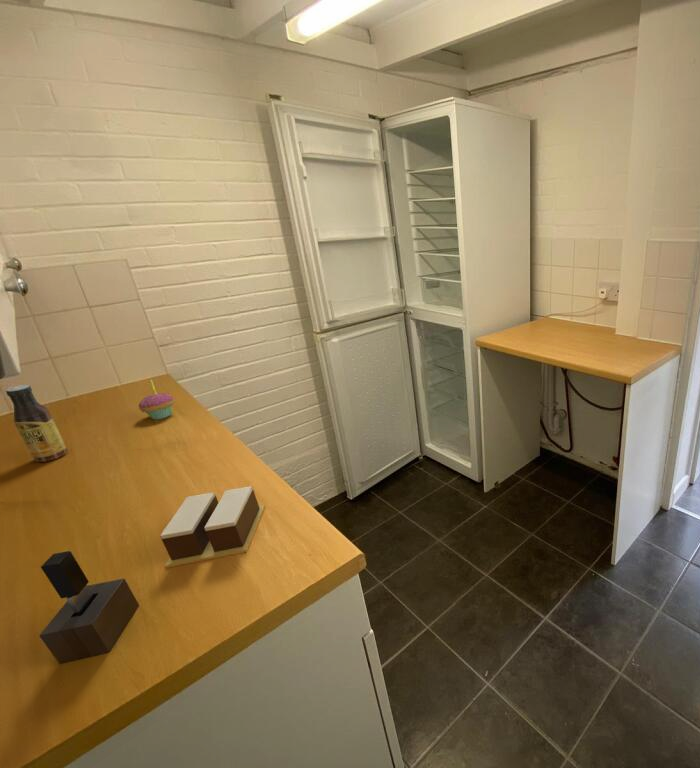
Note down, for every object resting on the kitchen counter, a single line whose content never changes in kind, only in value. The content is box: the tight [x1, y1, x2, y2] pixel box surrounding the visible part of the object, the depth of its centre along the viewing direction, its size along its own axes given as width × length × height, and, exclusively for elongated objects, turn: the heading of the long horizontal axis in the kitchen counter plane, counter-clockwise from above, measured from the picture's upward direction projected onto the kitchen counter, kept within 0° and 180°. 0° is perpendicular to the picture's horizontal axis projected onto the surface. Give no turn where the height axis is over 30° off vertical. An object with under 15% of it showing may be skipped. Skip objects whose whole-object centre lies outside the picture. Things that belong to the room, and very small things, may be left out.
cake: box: [160, 485, 266, 569], centre depth 80 cm, size 13×13×6 cm
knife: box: [40, 550, 95, 616], centre depth 60 cm, size 3×2×15 cm, turn 15°
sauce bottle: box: [5, 384, 68, 463], centre depth 105 cm, size 6×6×20 cm
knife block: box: [38, 578, 140, 665], centre depth 62 cm, size 8×6×6 cm
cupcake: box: [138, 377, 175, 420], centre depth 127 cm, size 9×8×12 cm
